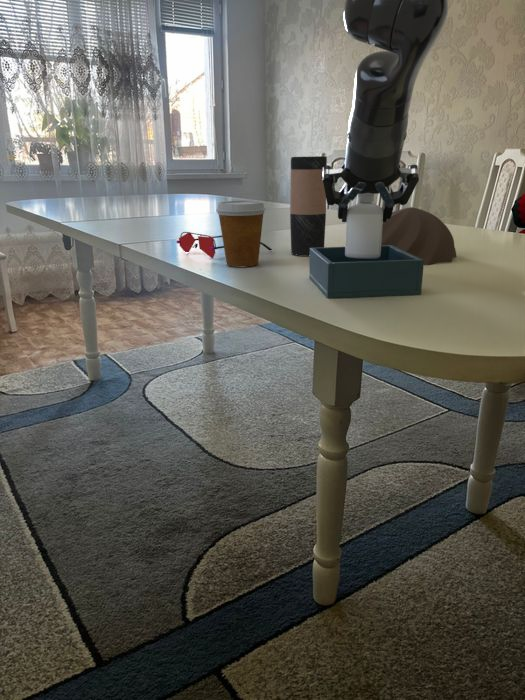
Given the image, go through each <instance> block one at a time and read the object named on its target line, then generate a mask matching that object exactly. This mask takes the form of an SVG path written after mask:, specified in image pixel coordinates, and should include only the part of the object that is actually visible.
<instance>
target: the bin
mask: <svg viewBox="0 0 525 700" xmlns="http://www.w3.org/2000/svg"><path fill="white" fill-rule="evenodd" d="M424 266H425V265H424V260H422V259H420V258H418V257H416V256H414V255H412V254H410V253H407V252H405V251H403V250H401V249H399V248H397V247H395V246H392V245H382V246H381V254H380V257H379V258H376V259H357V258H348V257H346V256H345V246H324V247H320V248H310V256H309V274H308V277H309V280H311V281H312V283H313V284H314V285H315V286H316V287H317V288H318V290H319V291H320V292H321V293H322V294H323V295H324V296H325V297H326V299H343V298H344V299H345V298H347V299H349V298H369V297H372V298H373V297H395V296H417V295H422V288H423V277H424V276H423V275H424Z"/></svg>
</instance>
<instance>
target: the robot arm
mask: <svg viewBox="0 0 525 700" xmlns="http://www.w3.org/2000/svg"><path fill="white" fill-rule="evenodd" d="M448 12H449V0H344V6H343V23H344V28H345V31H346V33H347V34H348V35H349V37H350V38H351V39H353V40H355V41H357V42H359V43H363V44H365V45H369V46H372V47H375V48H379V49H382V50H381V51H375V52H372V53H369V54H368V55H366V56H364V57H363V58H362V60H361V61H360V62H359V63H358V66H357V68H356V72H355V74H354V75H355V77H354V86H353V93H352V94H353V95H352V105H351V109H350V110H351V111H350V114H349V119H348V125H347V126H348V127H347V137H346V146H345V147H346V148H345V158H344V163H342V165H341V167H337V168H332V167H331V165H329V164H327V165H326V166H324V167H323V184H324V189H325V194H326V205H328V206H334V205H337V218H338V220H341V222H342V223H346V220H347V212H348V208H349V204H350V202H351V201H352V202H353V201H354V200H355V199H356V198H357V197H358V194H364V193H373V194H374V195H376V194H377V195H379V196H380V198H381V201H382V206H381V208H382V209H383V222H386V221H387V219H390V218H391V216H392V212H394V207H395V206H396V205H400V206H406V205H407V204H408V202H409V200H410V198H411V196H412V195H413V193H414V191H415V189H416V187H417V185H418V183H419V181H420V180H419V179H420V178H419V177H420V176H419V166H418V165H417V164H416V163H415V164H414V163H413V164H411V165H410V166H409V167H401V164H400V163H401V158H402V153H403V149H404V145H405V141H406V139H407V135H408V132H407V130H408V125H409V112H410V106H411V102H412V97H413V91H414V87H415V84H416V82H417V78H418V77H419V74H420V71H421V69H422V66H423V65H424V62H425V60H426V58H427V56H428V54H429V52H430V51H431V49H432V48H433V46H434V44H435V43H436V41H437V39H438V37H439V36H440V34H441V32H442V30H443V28H444V25H445V23H446V21H447V17H448ZM340 178H341V179H342V180H343V181H344V184H343V186H342V188H341V189H340V191H338V190H336V188H335V186H336V184H337V183H338V180H340ZM400 178H401V183H400V186H399V188H398V190H397V191H394V189H393V187H392V185H393V184H394V183H395V182H397V181H398V180H399V179H400Z"/></svg>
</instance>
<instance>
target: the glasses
mask: <svg viewBox="0 0 525 700" xmlns="http://www.w3.org/2000/svg"><path fill="white" fill-rule="evenodd" d="M183 234H184V235H183ZM194 235H196V236H197V238H195V237H194ZM216 238H222V235H216V236H215V235H214V236H211V235H207V234H201V233H195V232H190V231H183V232H181V233H180V236H179V237H178V240H176V241H175V243H176V244H178V245H179V247H180V249H181V250H182V251H183V252H184V251H185V252H189V253H190V251H191V249H193V248H194V249H197V248H199V250H200V251H202V252H203V253H204V254H206V255H207V256H208V257H209V258H211V259H212V258H213V259H214V257H215V255H216V250H218V249H224V245H221V246H216V244H217V243H216V240H215V239H216ZM196 241H198V243H195V242H196ZM260 245H262V246H263V247H264V248H265V249H267V250H268V251H269V250H272V251H273V249H272V248H271V247H269V246H268V245H267V244H265V243H263V242H262V241H260ZM185 252H184V253H185Z"/></svg>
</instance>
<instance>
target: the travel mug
mask: <svg viewBox="0 0 525 700" xmlns="http://www.w3.org/2000/svg"><path fill="white" fill-rule="evenodd" d="M326 165H328V157H327V156H326V155H324V156H323V155H321V156H319V155H318V156H292V157H290V176H289V177H290V179H289V180H290V182H289V183H290V185H289V186H290V187H289V188H290V190H289V199H290V200H289V213H290V214H289V220H290V221H289V223H290V224H289V225H290V252H291V253H290V254H292V253H293V254H297V255H310V248H320V247H325V239H326V222H327V221H326V219H327V199H326V194H325V189H324V184H323V167H324V166H326ZM293 254H292V255H293Z"/></svg>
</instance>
